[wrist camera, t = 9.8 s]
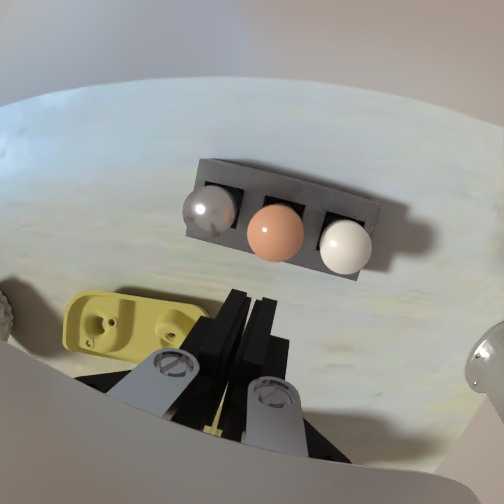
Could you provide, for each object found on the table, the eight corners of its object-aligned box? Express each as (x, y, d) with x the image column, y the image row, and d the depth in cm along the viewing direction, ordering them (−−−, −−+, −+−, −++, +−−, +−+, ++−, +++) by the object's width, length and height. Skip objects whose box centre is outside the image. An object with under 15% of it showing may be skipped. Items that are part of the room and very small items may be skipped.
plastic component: (210, 306, 37) (201, 389, 36) (218, 306, 44) (211, 376, 43) (67, 284, 38) (61, 356, 36) (92, 287, 45) (87, 350, 44)
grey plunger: (253, 184, 34) (237, 193, 26) (244, 223, 36) (226, 244, 28) (214, 175, 35) (187, 182, 27) (206, 214, 36) (178, 231, 28)
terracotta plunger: (308, 200, 32) (310, 214, 24) (297, 241, 34) (295, 268, 26) (266, 189, 33) (254, 200, 25) (256, 230, 34) (241, 253, 26)
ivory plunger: (361, 213, 33) (378, 231, 25) (349, 251, 35) (362, 279, 27) (322, 202, 34) (328, 217, 26) (311, 241, 35) (314, 266, 27)
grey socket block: (372, 199, 33) (380, 205, 29) (351, 268, 35) (356, 281, 32) (211, 158, 34) (199, 158, 31) (197, 227, 37) (185, 235, 33)
